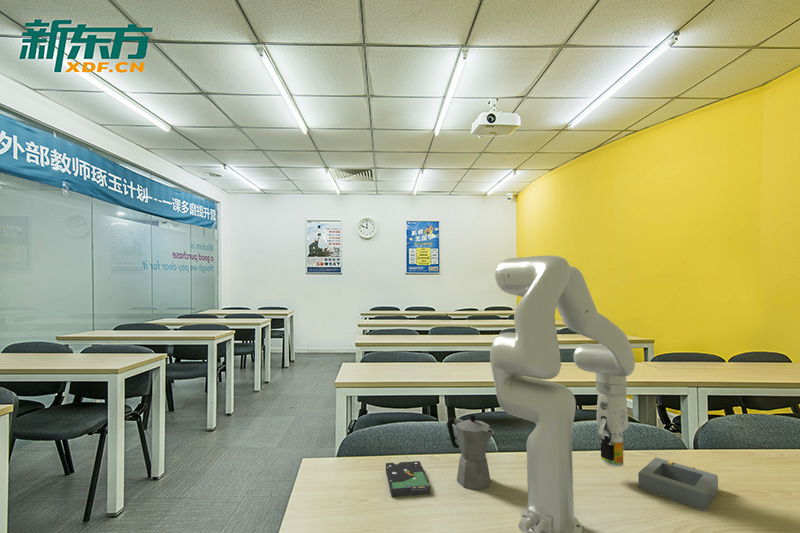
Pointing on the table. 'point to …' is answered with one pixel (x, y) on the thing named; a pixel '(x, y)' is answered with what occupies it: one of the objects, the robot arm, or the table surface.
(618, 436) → the supplement bottle
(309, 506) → the table surface
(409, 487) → the disk drive
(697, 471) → the gray rectangular open box
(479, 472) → the coffeepot
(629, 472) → the table surface
